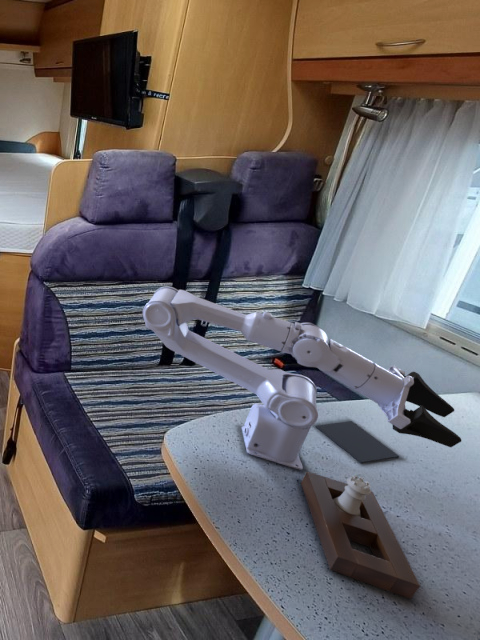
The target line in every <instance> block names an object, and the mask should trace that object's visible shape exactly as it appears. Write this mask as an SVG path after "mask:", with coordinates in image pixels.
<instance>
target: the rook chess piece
mask: <svg viewBox="0 0 480 640" xmlns="http://www.w3.org/2000/svg"><path fill="white" fill-rule="evenodd" d="M364 480H365V479H364V477H362V476H359V478H358V475H355V474H353V476H351V477H347V478H346V484H348V485H347V486H345V491H344V492H343V493H342V494H341V496H340V497H337V498H334V499H333V502H334V504H335V507H336V509H337V510H340V511H343V512H346V513H349V514H352V515H355V516H358V517H361V514H360V509H359V508H360V504H361V502H362V500H364V499H365V495H368V494H370V493H371V491H372V490H371V485H370V482H369V481H368V480H365V481H364Z"/></svg>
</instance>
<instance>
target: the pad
mask: <svg viewBox="0 0 480 640" xmlns="http://www.w3.org/2000/svg"><path fill="white" fill-rule="evenodd" d="M315 428H316V429H317V430H319V431H320V432H321V433H323V434H324V435H325V436H326V437H328V438H329V439H330V440H331V441H332V442H334V443H335V444H336V445H338V446H339V447H340V448H341V449H342V450H344V451H345V452H346V453H347V454H348V455H350V456H351V457H353V459H355V460H356V461H358V462H359V463H360V464H366V463H370V462H371V463H372V462H379V461H383V460H390V459H396V458H399V457H400V455H398V454H397V453H396V452H394V451H393V450H392V449H390V448H389V447H388V446H386V445H385V444H384V443H382V442H381V441H379V440H378V439H377V438H376V437H374V436H372V434H370V433H369V432H367V431H366V430H365V429H363V428H362V427H360V426H359V425H358V424H357V423H356V422H354V421H352V420H348V421H342V422H334V423H325V424H318V425H315Z"/></svg>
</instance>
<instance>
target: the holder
mask: <svg viewBox="0 0 480 640" xmlns="http://www.w3.org/2000/svg"><path fill="white" fill-rule="evenodd" d="M300 484H301V488H302V490H303V493H304V496H305V499H306V502H307V506H308V508H309V511H310V514H311V517H312V520H313V523H314V526H315V529H316V532H317V535H318V538H319V541H320V544H321V546H322V550H323V553H324V555H325V558H326V561H327V564H328V568H329V570H330V571H333V572H335V573H337V574H340V575H344V576H346V577H349V578H351V579H354V580H357V581H360V582H363V583H365V584H368V585H371V586H374V587H375V588H379V589H382V590H384V591H387V592H390V593H393V594H395V595H398V596H400V597H403V598H406V599H408V600H412V598H413V597H414V596H415V594H416V593H417V592H418V590H419V589H420V587H421V585H420V583H419V581H418V579H417V577H416V575H415V573H414V571H413V569H412V566H411V564H410V563H409V561H408V558H407V557H406V555H405V553H404V551H403V549H402V547H401V545H400V543H399V541H398V539H397V537H396V535H395V533H394V531H393V528H392V527H391V525H390V523H389V521H388V519H387V517H386V515H385V514H384V511H383V509H382V507H381V505H380V503H379V501H378V500H377V497H376V495H375V493H374V492H373V491H372V490H371V493H370V494H368V495H365V499H364V500H362V502H361V504H360V508H359V509H360V514H361V517H358V516H355V515H352V514H349V513H346V512H343V511H340V510H337V509H336V507H335V504H334V502H333V499H334V498H337V497H340V496H341V494H342V493H343V492H344V491H345V486H347V485H348V483H347V482H344V481H340V480H336V479H334V478H330V477H327V476H323V475H321V474H318V473H314V472H311V471H306V472H305V474H304V476H303V478H302V480H301V482H300ZM351 542H354V543H356V544H360V545H362V546H366V547H369V548H370V551H371V553H372V554H369V553H366V552H363V551H360V550H357V549H354V548H353V547H352V545H351Z"/></svg>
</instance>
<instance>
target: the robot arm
mask: <svg viewBox="0 0 480 640" xmlns="http://www.w3.org/2000/svg"><path fill="white" fill-rule="evenodd" d="M142 316H143V321H144V324H145V327H146V329H148V330H150V331H153V333H154V334H155V335H156V337H157V338H158V339H159V340H160V341H161V343H162V344H163V345H164V346H165V347H166V348H167V349H169V350H170V351H172V352H174V353H176V354H178V355H180V356H182V357H184V358H186V359H187V360H189V361H192V362H193V363H195V364H197V365H199V366H201V367H203V368H205V369H207V370H209V371H211V372H213V373H215V374H216V375H217V376H220V377H222V378H224V379H226V380H228V381H230V382H232V383H233V384H236V385H237V386H240V387H241V388H243V389H244V390H247V391H250V392H251V393H252V394H255V395H256V396H257V397H258V399H259V400H260V402H261V403H254V404H252V406H251V407H250V409H249V412H248V414H247V417H246V419H245V422H244V425H242V426H241V432H242V436H243V440H244V441H243V442H244V445H245V451H246V453H247V454H248V455H251V456H254V457H257V458H261V459H263V460H267V461H271V462H273V463H277V464H280V465H282V466H286V467H289V468H291V469H296V470H300V471H303V469H304V467H303V463H302V461H301V459H300V458H301V457H300V456H299V453H300V451H301V449H302V447H303V445H304V443H305V441H306V439H307V437H308V434H309V432H310V430H311V428H312V426H313V425H314V424H315V423H316V422H317V420H318V419H319V411H318V409H317V406H318V405H317V394H318V389H317V386H316V384H315V383H314V382H313V381H312V380H311V378H309V377H307V376H305V375H302V374H299V373H291V372H287V371H284V370H283V369H281V368H272V369H271V368H266V367H265V366H262V365H261V364H259V363H256V362H254V361H252V360H250V359H248V358H247V357H244V356H243V355H240V354H238V353H236V352H234V351H232V350H229V349H228V348H226V347H223V346H222V345H220V344H218V343H216V342H213V341H211V340H210V339H209V338H205V337H204V336H201V335H200V334H198V333H195V332H193V331H191V330H190V329H189V327H188V323H189V322H192V321H194V320H198V321H202V322H205V323H209V324H212V325H215V326H219V327H223V328H226V329H231V330H233V331H238V332H240V333H241V335H243V337H244V339H245V340H246V341H249V342H252V343H255V344H258V345H261V346H264V347H266V348H270V349H272V350H275V351H277V352H281V353H284V354H289V355H291V356H292V358H294V359H295V361H296V362H297V364H298V365H301V366H302V367H307V368H317V369H319V371H322V372H323V373H325V374H327V375H328V376H330V377H331V378H333V379H335V380H336V381H339V382H340V383H341V384H343V385H345V386H346V387H349V389H352V390H353V391H354V392H355V391H356V392H357V393H359V394H360V395H362V396H364V397H365V398H367V399H368V400H369V401H372V402H373V403H376V404H377V406H378V407H379V409H380V410H381V411H382V412H383V413H384V415H385V417H386V418H387V422H388V423H389V424H391V425H392V429H393V431H395V432H396V433H398V434H400V435H401V434H402V435H410V436H415V437H419V438H423V439H426V440H429V441H432V442H434V443H436V444H440V445H443V446H446V447H447V448H452V447H454V446H456V445H458V444H460V443H462V438H461V436H459V435H458V434H457V433H455V432H454V431H453V430H452V429H450V428H448V427H447V426H446V425H444V424H443V423H441V422H440V421H438V419H436V418H435V417H434V416H432V415H431V413H432V414H434V415H436V416H439V417H442V418H446V417H448V416H449V415H450V414H452V413H454V412H455V408H454V407H453V406H452V405H451V404H450V403H449V402H448V401H446V400H445V399H444V398H442V396H440V395H439V394H438V393H437V392H435V391H434V389H432V388H431V387H430V386H429V385H428V384H427V383H426V382H425V380H424V379H423V378H422V376H421V375H420V374H419V373H418V372H416V371H411V372H409V373H408V374H407V375H406V372H405V370H403V369H402V368H399V367H397V366H396V365H391V366H389V368H388V369H386V368H384V367H383V366H380V365H378V364H377V363H375V362H374V361H372V360H370V359H368V358H366V357H364V356H363V355H361V354H359V353H358V352H356V351H354V350H353V349H350V348H349V347H347V346H345V345H343V344H341V343H339V342H337V341H335V340H334V339H332V338H328V335H327V333H326V331H325V330H324V329H323V328H321V327H320V326H318V325H316V324H314V323H312V322H298V321H295V322H291V321H287V320H284V319H281V318H278V317H274V316H273V315H272V313H271V312H268V311H266V310H265V311H263V313H262V312H259V311H255V312H251V313H248V314H245V313H243V312H239V311H236V310H234V309H231V308H228V307H225V306H224V305H220V304H217V303H215V302H212V301H209V300H208V299H204V298H202V297H199V296H197V295H194V294H192V293H191V292H188V291H187V290H185V289H177V288H175V287H173V286H170V285H169V286H168V285H167V286H161V287H159V288H158V289H156V290H155V291H154V293H153V294H152V297H151V298H150V299H149V301H148V302H147V303H146V304H145V305H144V306H143V308H142ZM406 402H407V403H410V404H413V405H416V406H418V407H417V408H416V409H414V410H413V409H407V408H406Z"/></svg>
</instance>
